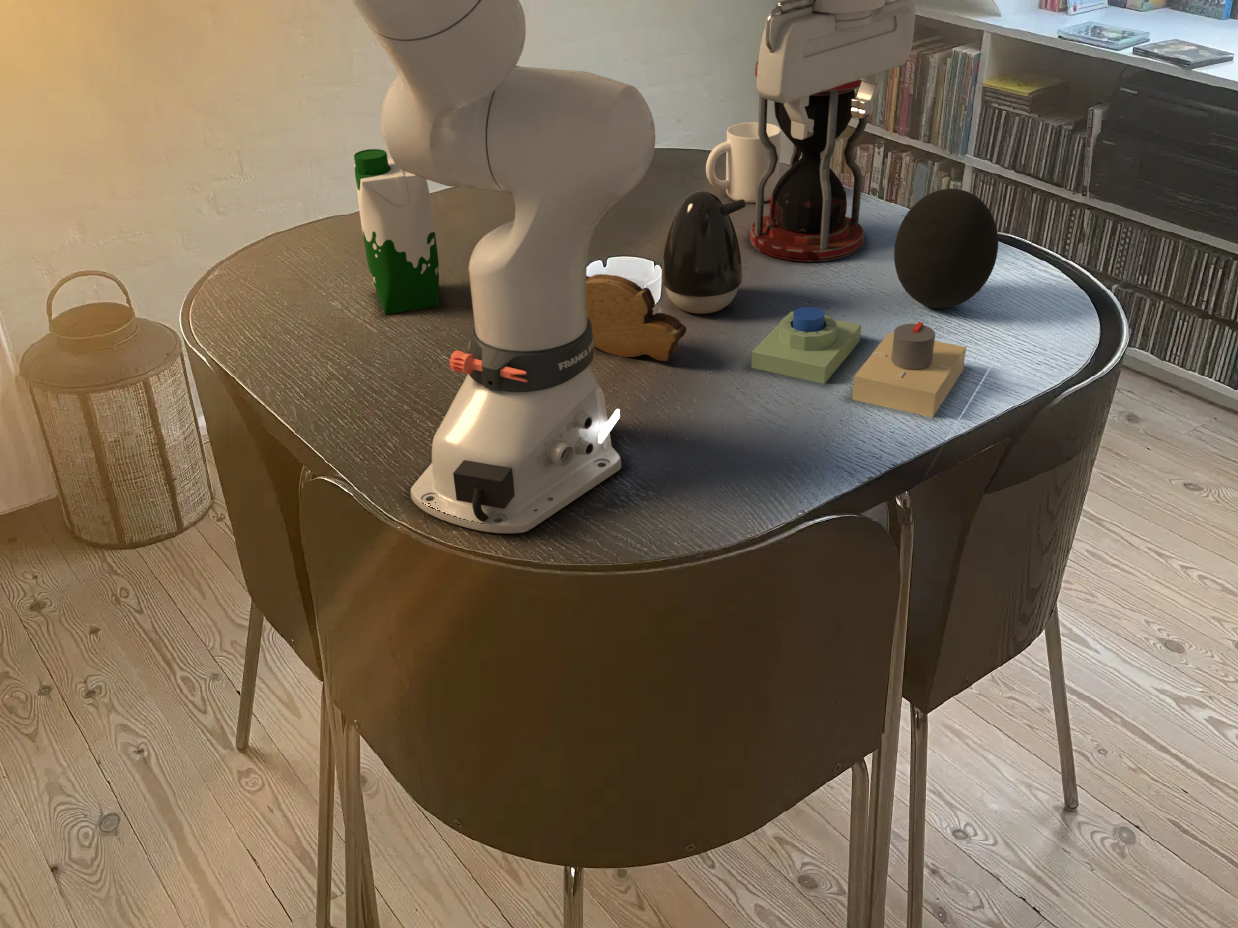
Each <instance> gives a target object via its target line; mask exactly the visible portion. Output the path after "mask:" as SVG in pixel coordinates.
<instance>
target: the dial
mask: <svg viewBox="0 0 1238 928" xmlns="http://www.w3.org/2000/svg"><path fill="white" fill-rule="evenodd" d="M893 333H894V338H893V348H892V357H891V360H892V362H893V363H894V364H895V365H896V366H898V367H900V368H904V369H909V370H920V369H924V368H927V367H929V366H930V365H931V363H932V357H933V349H934V341H936V332H935V330H934V329H933V328H931V327H929V326H927V325H924V322H922V321H918V322H917V323H905V324H901V325H899V326H896V328H894V330H893Z"/></svg>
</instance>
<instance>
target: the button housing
mask: <svg viewBox="0 0 1238 928" xmlns="http://www.w3.org/2000/svg"><path fill="white" fill-rule="evenodd" d="M793 313H794V311H790V312H788V314H786V315H785V316H783V318H782V319H781V320H780V321H779V323H778V324H777V325H776V326H775V327H774V328H773V329H772V330H771V331H770V333H768V334H767V336H765V337H764V338H763V340H761V342H759V344H758V345H756V347H755V348H754V349H753V350H752V351H751V369H754V370H760V371H765V372H768V373H772V374H778V375H783V376H787V377H792V378H795V379H800V380H805V381H809V382H813V383H819V384H823V385H825V384H826V383H827V381H828V380H830V378H831V377H832V376H833V375H834V373H835V372H836V371H837V369H838V368H839V367H840V366H841V365H842V363H844V361H845V360H846V358H847V357H848V356H850V354H851V353H852V352H853V350H855V348H856V346H858V344H859V343H860V342H861V333H862V332H861V331H862V324H859V323H855V322H854V323H853V322H849V321H845V320H844V321H843V320H837V319H835V318H832V317H831V316H829V315H827V314H825V318H824V328H823V330H820V331H817V332H803V331H798V330H796V329H794V328H793Z"/></svg>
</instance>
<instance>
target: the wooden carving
mask: <svg viewBox="0 0 1238 928" xmlns="http://www.w3.org/2000/svg"><path fill="white" fill-rule="evenodd" d="M655 305H656V300H655V298H654V295H653V293H652V291H651V289H650V288H649V287H643V288H642V287H641V286H639V285H638V284H637V283H636V282H635V281H632V280H630V279H627V278H625V277H623V276H619V275H612V274H607V273H606V274H605V273H604V274H602V273H599V274H594V275H591V276H588V275H587V274H586V307H587V317H588V318H589V320H590V322H591V326H592V333H593V336H594V346H593V348H594V347H595V348H596V349H598V350H600V351H602V352H604V353H607V354H610V355H613V356H617V357H623V358H635V357H640V356H644V355H647V356H648V357H650V358H652V359H654V360H656V361H660V362H669V361H670V360H671V358H672V356H673V355H674V353H676V351H678V346H679V341H680V340H681V339H682V338H683V337H684V336H685V335H686V332H687V327H686V326H685V324H682V322H681V321H680V320H679V319H677V317H674V316H672V315H671V314H668V313H664V312H656V313H655V314H654V309H653V308H654V307H655Z"/></svg>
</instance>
